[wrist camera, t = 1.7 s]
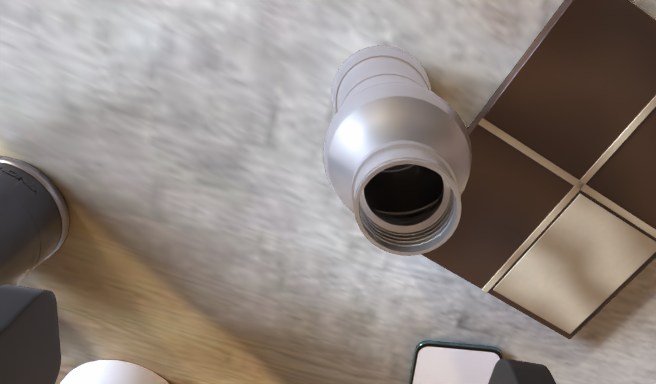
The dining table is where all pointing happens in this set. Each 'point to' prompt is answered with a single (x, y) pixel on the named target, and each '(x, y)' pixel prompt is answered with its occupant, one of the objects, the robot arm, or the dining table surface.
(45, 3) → the dining table surface
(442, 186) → the plastic bottle
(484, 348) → the smartphone
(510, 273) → the board
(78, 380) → the honey pot
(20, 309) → the robot arm
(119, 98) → the dining table surface
